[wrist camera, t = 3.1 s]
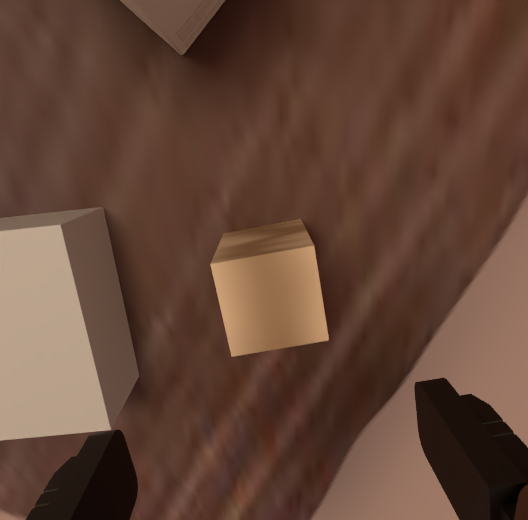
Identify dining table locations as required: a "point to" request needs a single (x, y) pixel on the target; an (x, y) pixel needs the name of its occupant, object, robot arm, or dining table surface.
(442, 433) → the robot arm
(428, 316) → the dining table surface
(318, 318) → the birch block
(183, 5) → the supplement box
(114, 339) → the flat white box
